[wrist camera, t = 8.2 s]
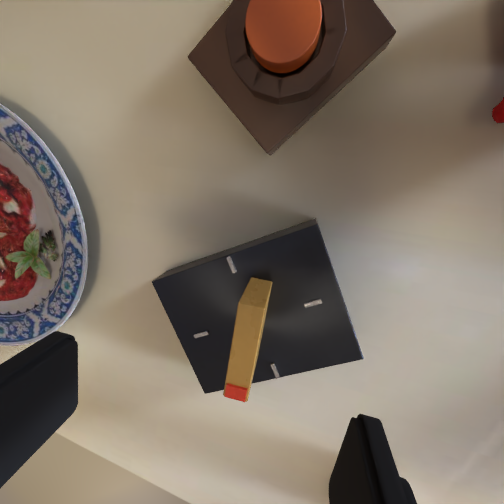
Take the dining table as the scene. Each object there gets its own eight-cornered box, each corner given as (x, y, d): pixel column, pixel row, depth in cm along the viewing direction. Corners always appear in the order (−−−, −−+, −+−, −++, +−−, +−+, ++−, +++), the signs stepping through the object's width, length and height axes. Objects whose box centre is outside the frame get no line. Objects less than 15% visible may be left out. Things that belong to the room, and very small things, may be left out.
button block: (306, -61, 19) (308, -120, 15) (386, 46, 20) (407, 15, 16) (197, 68, 22) (176, 45, 18) (270, 156, 23) (264, 151, 19)
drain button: (288, -26, 17) (287, -49, 15) (334, 34, 17) (338, 18, 16) (236, 35, 18) (229, 20, 16) (279, 89, 18) (278, 80, 17)
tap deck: (315, 218, 24) (317, 224, 21) (356, 339, 26) (364, 360, 23) (166, 270, 27) (150, 282, 24) (213, 373, 29) (204, 395, 26)
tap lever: (250, 276, 23) (237, 304, 18) (272, 281, 23) (264, 310, 18) (237, 354, 25) (221, 398, 20) (257, 359, 25) (246, 405, 20)
